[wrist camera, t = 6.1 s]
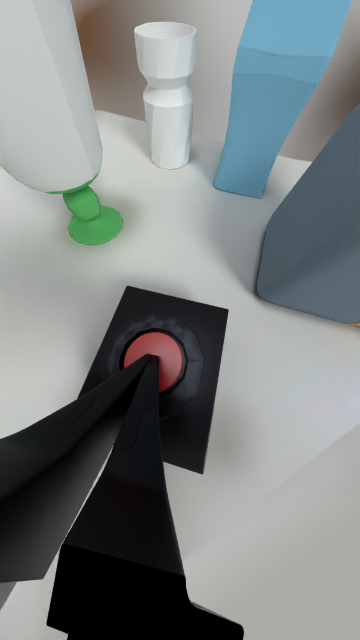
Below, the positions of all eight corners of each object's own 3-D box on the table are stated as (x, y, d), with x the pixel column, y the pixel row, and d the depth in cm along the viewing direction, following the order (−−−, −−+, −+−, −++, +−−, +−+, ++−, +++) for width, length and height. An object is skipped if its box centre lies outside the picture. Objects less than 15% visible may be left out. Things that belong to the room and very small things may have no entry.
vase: (145, 165, 29) (123, 35, 17) (157, 144, 31) (145, 19, 20) (184, 172, 28) (188, 42, 17) (194, 150, 31) (203, 24, 19)
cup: (92, 189, 26) (-25, -47, 11) (151, 214, 24) (106, -33, 9) (37, 235, 22) (-255, -30, 7) (101, 269, 20) (-119, 1, 5)
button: (174, 395, 10) (173, 401, 8) (124, 380, 10) (114, 384, 9) (187, 343, 11) (188, 339, 10) (142, 331, 12) (135, 326, 10)
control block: (194, 432, 14) (209, 503, 7) (105, 405, 15) (36, 444, 8) (213, 325, 18) (237, 300, 11) (141, 308, 18) (118, 273, 11)
